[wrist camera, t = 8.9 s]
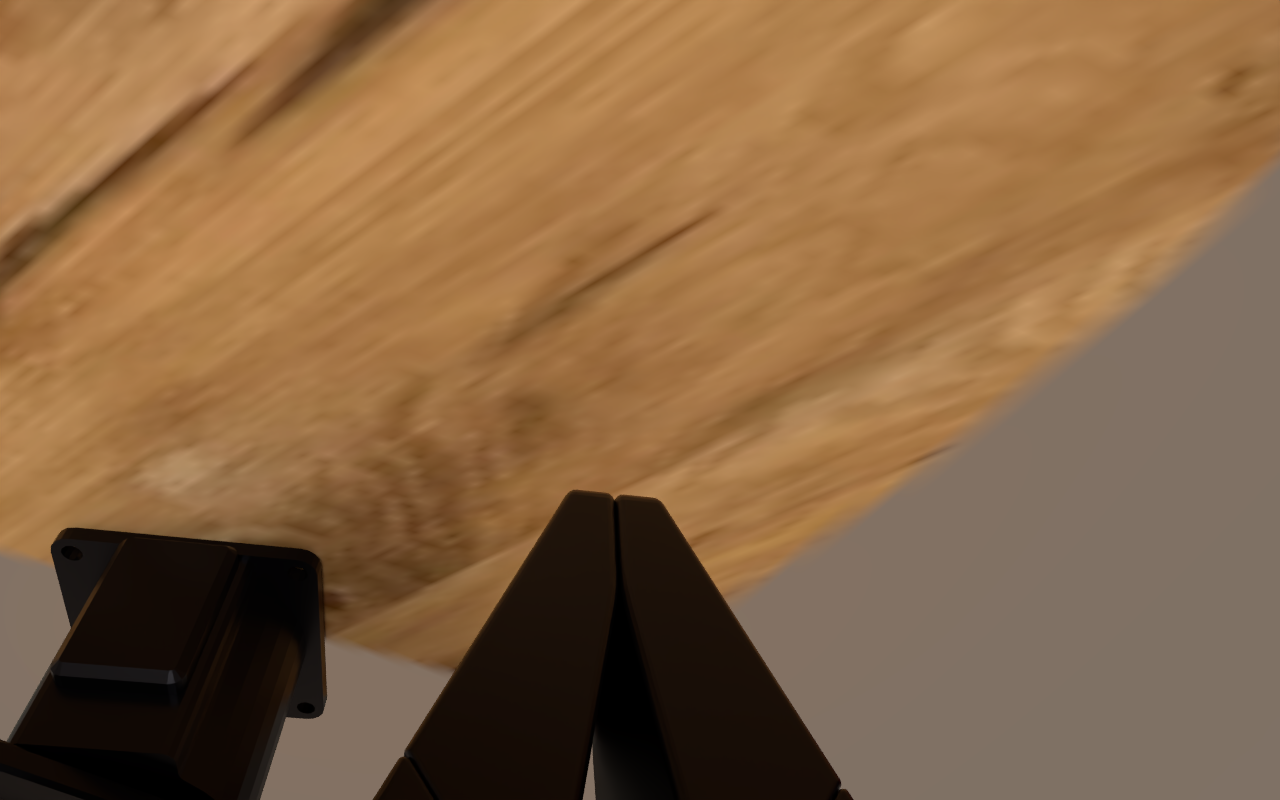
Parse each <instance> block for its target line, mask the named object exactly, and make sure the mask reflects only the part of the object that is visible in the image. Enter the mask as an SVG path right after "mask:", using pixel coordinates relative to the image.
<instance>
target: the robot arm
mask: <svg viewBox="0 0 1280 800" xmlns="http://www.w3.org/2000/svg"><path fill="white" fill-rule="evenodd" d="M74 547H76V548H74ZM77 548H78V549H77ZM51 554H52V558H53V561H54V565H55V569H56V573H57V576H58V580H59V584H60V588H61V592H62V595H63V599H64V603H65V607H66V611H67V615H68V618H69V622H70V626H71V629H70V631H69V633H68V635H67V636H66V638H65V640H64V642H63V643H62V645H61V647H60V649H59V650H58V652H57V654H56V656H55V657H54V659H53V661H52V663H51V664H50V666H49V668H48V670H47V671H46V673H45V675H44V677H43V678H42V680H41V682H40V684H39V686H38V687H37V689H36V691H35V693H34V694H33V696H32V698H31V699H30V701H29V703H28V705H27V706H26V708H25V710H24V712H23V713H22V715H21V717H20V719H19V720H18V722H17V724H16V726H15V727H14V729H13V731H12V733H11V734H10V736H9V738H8V740H7V741H3V740H0V800H260V798H261V794H262V791H263V788H264V785H265V781H266V779H267V775H268V772H269V769H270V765H271V762H272V759H273V756H274V753H275V750H276V747H277V743H278V741H279V737H280V734H281V731H282V728H283V724H284V721H285V718H286V717H291V718H304V719H311V718H316V717H319V716H320V715H321V714H322V713H323V710H324V707H325V703H326V700H327V686H326V663H325V640H324V617H323V594H322V571H321V562H320V559H319V558H318V557H317V556H316V555H315V554H314V553H312V552H310V551H308V550H303V549H296V548H286V547H275V546H265V545H254V544H243V543H233V542H222V541H212V540H201V539H190V538H180V537H169V536H159V535H148V534H137V533H127V532H116V531H105V530H95V529H84V528H67V529H64V530H62V531H61V532H60V533H59V535H58V536H57V538H56V539H55V541H54V542H53V544H52V545H51ZM296 567H300V568H303V569H304V570H301V569H297V568H296ZM592 744H593V765H594V780H595V795H596V800H853V798H852V797H851V795H850V794H849V792H848V791H847V790H846V789H840V787H841V781H840V779H839V777H838V776H837V774H836V773H835V771H834V769H833V768H832V766H831V765H830V763H829V762H828V760H827V759H826V757H825V755H824V754H823V752H822V751H821V749H820V748H819V746H818V744H817V743H816V741H815V740H814V738H813V737H812V735H811V734H810V732H809V730H808V729H807V727H806V726H805V724H804V723H803V721H802V719H801V718H800V716H799V715H798V713H797V712H796V710H795V709H794V707H793V706H792V704H791V703H790V701H789V699H788V698H787V696H786V695H785V693H784V691H783V690H782V688H781V687H780V685H779V684H778V682H777V681H776V679H775V677H774V676H773V674H772V673H771V671H770V670H769V668H768V667H767V665H766V663H765V662H764V660H763V659H762V657H761V656H760V654H759V653H758V651H757V649H756V648H755V646H754V645H753V643H752V642H751V640H750V639H749V637H748V635H747V634H746V632H745V631H744V629H743V628H742V626H741V625H740V623H739V621H738V620H737V618H736V617H735V615H734V614H733V612H732V611H731V609H730V607H729V606H728V604H727V603H726V601H725V600H724V598H723V597H722V595H721V593H720V592H719V590H718V589H717V587H716V586H715V584H714V583H713V581H712V579H711V578H710V576H709V575H708V573H707V572H706V570H705V569H704V567H703V565H702V564H701V562H700V561H699V559H698V558H697V556H696V555H695V553H694V551H693V550H692V548H691V547H690V545H689V544H688V542H687V541H686V539H685V537H684V536H683V534H682V533H681V531H680V530H679V528H678V527H677V525H676V523H675V522H674V520H673V519H672V517H671V516H670V514H669V512H668V511H667V509H666V508H665V506H664V505H663V503H662V502H661V501H659V500H658V499H656V498H651V497H641V496H632V495H619V496H617V498H616V499H615V500H614V499H613V497H612V496H611V495H610V494H608V493H603V492H593V491H583V490H572V491H570V492H569V493H568V494H567V495H566V496H565V498H564V499H563V501H562V502H561V504H560V506H559V507H558V509H557V510H556V512H555V514H554V515H553V517H552V518H551V520H550V521H549V523H548V525H547V526H546V528H545V529H544V531H543V533H542V534H541V536H540V537H539V539H538V540H537V542H536V544H535V545H534V547H533V548H532V550H531V551H530V553H529V555H528V556H527V558H526V559H525V561H524V563H523V564H522V566H521V567H520V569H519V570H518V572H517V574H516V575H515V577H514V578H513V580H512V582H511V583H510V585H509V586H508V588H507V589H506V591H505V593H504V594H503V596H502V597H501V599H500V601H499V602H498V604H497V605H496V607H495V608H494V610H493V612H492V613H491V615H490V616H489V618H488V619H487V621H486V623H485V624H484V626H483V627H482V629H481V631H480V632H479V634H478V635H477V637H476V638H475V640H474V642H473V643H472V645H471V646H470V648H469V650H468V651H467V653H466V654H465V656H464V657H463V659H462V661H461V662H460V664H459V665H458V667H457V669H456V670H455V672H454V673H453V675H452V676H451V678H450V680H449V681H448V683H447V684H446V686H445V687H444V689H443V691H442V692H441V694H440V695H439V697H438V699H437V700H436V702H435V703H434V705H433V707H432V708H431V710H430V711H429V713H428V714H427V716H426V718H425V719H424V721H423V722H422V724H421V726H420V727H419V729H418V730H417V732H416V733H415V735H414V737H413V738H412V740H411V741H410V743H409V744H408V746H407V748H406V750H405V753H404V757H401V758H399V760H398V761H397V762H396V764H395V766H394V767H393V769H392V770H391V772H390V773H389V775H388V777H387V778H386V780H385V781H384V783H383V785H382V786H381V788H380V789H379V791H378V792H377V794H376V796H375V797H374V798H373V800H583V794H584V788H585V782H586V777H587V771H588V766H589V760H590V754H591V748H592ZM839 789H840V790H839Z"/></svg>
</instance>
